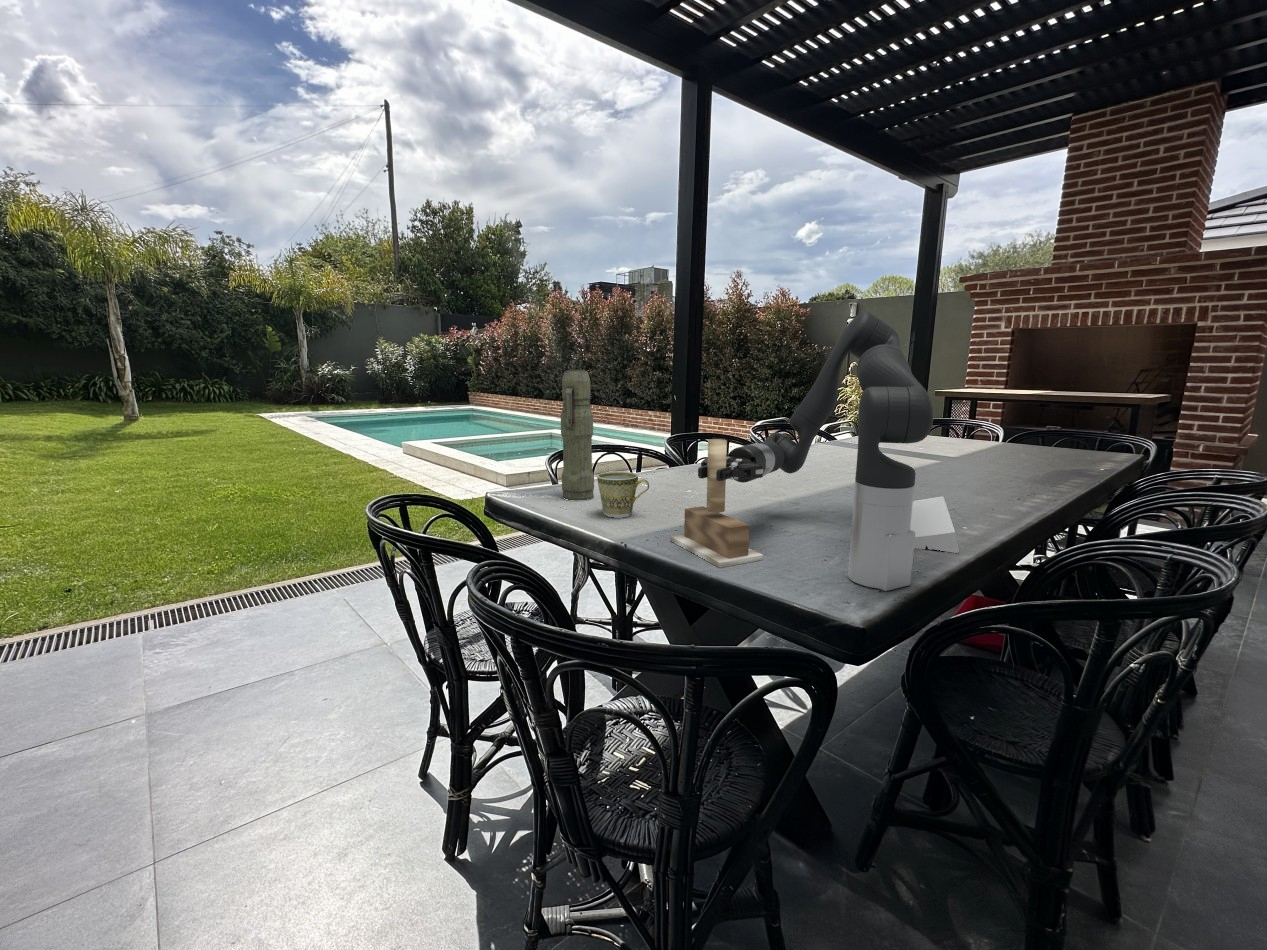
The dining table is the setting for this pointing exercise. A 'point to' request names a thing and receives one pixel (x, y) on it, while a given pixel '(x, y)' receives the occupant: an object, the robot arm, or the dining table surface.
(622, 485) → the ceramic cup
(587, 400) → the thermos
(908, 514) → the robot arm
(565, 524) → the dining table surface
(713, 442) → the dowel
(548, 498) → the dining table surface
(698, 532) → the stand
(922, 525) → the decorative molding
